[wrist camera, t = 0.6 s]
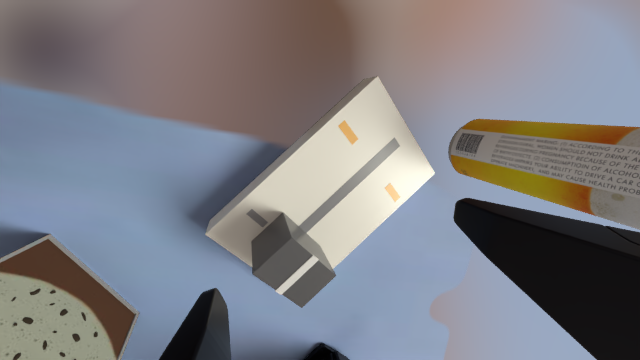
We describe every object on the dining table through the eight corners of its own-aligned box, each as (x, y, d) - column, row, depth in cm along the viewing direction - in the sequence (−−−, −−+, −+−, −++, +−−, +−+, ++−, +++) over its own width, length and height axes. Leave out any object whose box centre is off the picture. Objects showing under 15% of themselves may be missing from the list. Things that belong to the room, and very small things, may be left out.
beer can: (477, 174, 27) (706, 242, 14) (437, 170, 25) (660, 244, 12) (494, 123, 26) (773, 141, 12) (454, 114, 24) (733, 124, 10)
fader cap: (291, 272, 21) (301, 308, 17) (250, 241, 19) (251, 275, 15) (320, 245, 21) (337, 275, 17) (283, 211, 19) (292, 237, 15)
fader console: (294, 282, 24) (299, 300, 22) (209, 220, 20) (205, 234, 17) (418, 167, 24) (435, 173, 22) (363, 79, 20) (377, 75, 18)
